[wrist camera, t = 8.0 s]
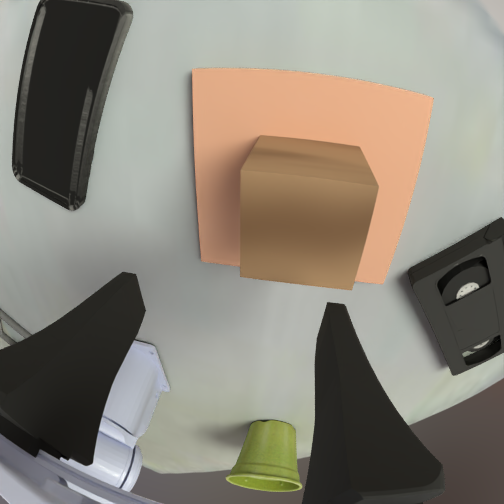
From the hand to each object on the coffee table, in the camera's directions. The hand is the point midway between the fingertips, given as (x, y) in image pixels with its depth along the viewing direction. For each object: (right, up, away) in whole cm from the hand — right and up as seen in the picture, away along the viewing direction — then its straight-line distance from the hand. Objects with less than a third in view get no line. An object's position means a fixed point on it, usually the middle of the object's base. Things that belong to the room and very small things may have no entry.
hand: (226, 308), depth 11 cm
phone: (-12, +12, +5) cm, 18 cm away
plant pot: (+4, -21, +26) cm, 34 cm away
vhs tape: (+19, -2, +9) cm, 21 cm away
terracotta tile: (+4, +6, +5) cm, 9 cm away
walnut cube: (+4, +6, +5) cm, 8 cm away
